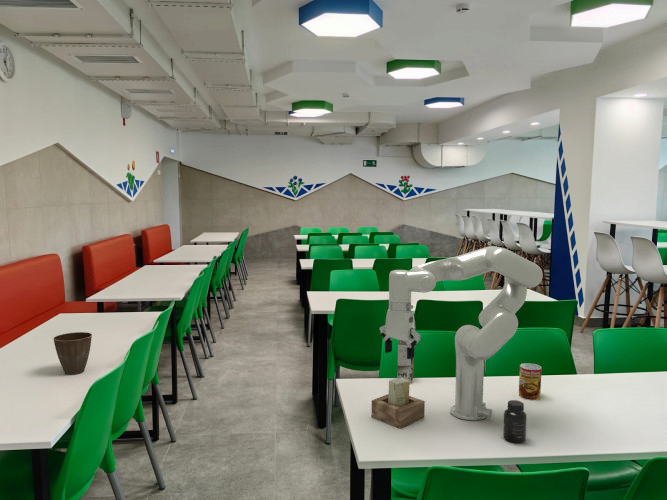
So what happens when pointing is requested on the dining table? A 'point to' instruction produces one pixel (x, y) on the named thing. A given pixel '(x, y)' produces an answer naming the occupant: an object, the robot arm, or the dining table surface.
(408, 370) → the coffee box
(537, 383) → the canned food
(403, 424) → the socket block
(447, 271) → the robot arm
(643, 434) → the dining table surface
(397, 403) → the skincare box
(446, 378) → the dining table surface
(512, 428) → the supplement bottle
